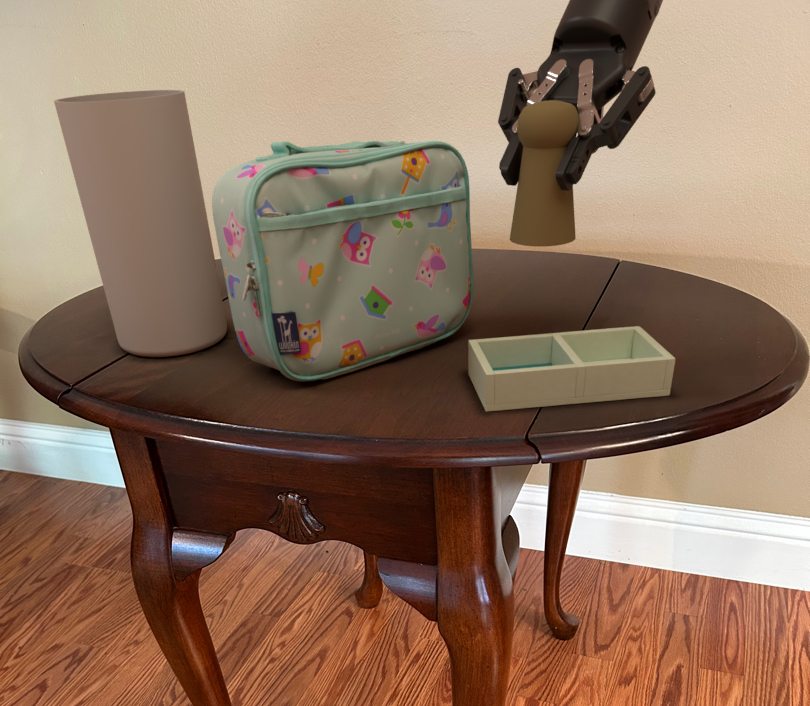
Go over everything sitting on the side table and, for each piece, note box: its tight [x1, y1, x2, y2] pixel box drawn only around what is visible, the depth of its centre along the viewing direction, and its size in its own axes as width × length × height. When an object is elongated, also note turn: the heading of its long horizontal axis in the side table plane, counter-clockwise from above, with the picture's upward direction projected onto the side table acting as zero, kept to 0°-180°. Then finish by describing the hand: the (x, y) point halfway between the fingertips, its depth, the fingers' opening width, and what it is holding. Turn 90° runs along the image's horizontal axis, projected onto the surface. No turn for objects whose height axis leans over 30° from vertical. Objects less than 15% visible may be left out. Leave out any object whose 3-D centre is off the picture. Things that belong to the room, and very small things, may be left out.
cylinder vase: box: [53, 89, 228, 358], centre depth 83 cm, size 12×12×25 cm
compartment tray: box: [467, 325, 676, 412], centre depth 73 cm, size 17×9×4 cm, turn 96°
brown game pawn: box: [509, 100, 579, 248], centre depth 67 cm, size 6×6×11 cm
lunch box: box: [211, 140, 475, 382], centre depth 77 cm, size 27×10×21 cm, turn 126°
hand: (534, 181), depth 66 cm, fingers closed on brown game pawn, 5 cm apart
